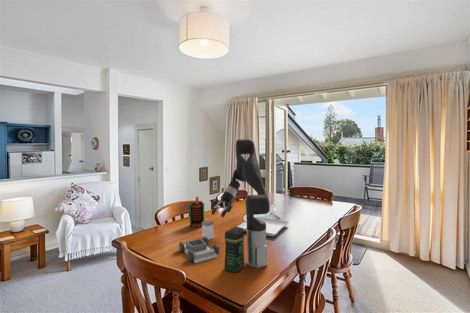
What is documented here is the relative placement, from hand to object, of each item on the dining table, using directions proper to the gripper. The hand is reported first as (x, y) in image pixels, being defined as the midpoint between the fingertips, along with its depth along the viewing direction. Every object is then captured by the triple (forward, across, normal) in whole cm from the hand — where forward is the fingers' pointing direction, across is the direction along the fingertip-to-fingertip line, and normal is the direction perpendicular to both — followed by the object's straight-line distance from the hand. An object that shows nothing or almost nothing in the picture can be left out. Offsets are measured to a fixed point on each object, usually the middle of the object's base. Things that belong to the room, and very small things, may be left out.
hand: (217, 215), depth 160 cm
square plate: (-11, +16, +29) cm, 35 cm away
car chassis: (+26, +12, -9) cm, 30 cm away
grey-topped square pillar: (+14, 0, +3) cm, 15 cm away
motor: (+6, -24, +11) cm, 27 cm away
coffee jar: (+26, +37, -8) cm, 46 cm away
